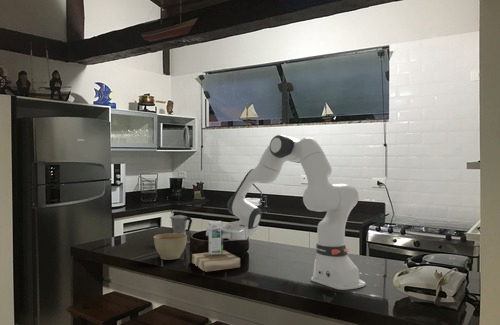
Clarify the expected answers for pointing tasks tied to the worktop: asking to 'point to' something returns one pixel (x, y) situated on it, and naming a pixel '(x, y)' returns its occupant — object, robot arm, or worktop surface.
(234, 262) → the birch plinth
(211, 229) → the syrup box
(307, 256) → the worktop surface
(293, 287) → the worktop surface
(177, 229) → the coffeepot
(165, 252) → the planter bowl
